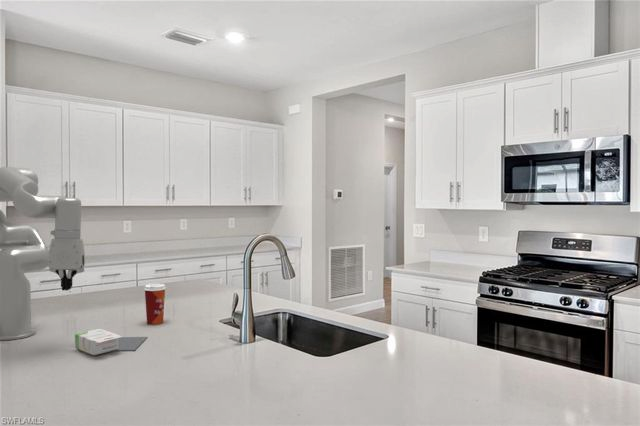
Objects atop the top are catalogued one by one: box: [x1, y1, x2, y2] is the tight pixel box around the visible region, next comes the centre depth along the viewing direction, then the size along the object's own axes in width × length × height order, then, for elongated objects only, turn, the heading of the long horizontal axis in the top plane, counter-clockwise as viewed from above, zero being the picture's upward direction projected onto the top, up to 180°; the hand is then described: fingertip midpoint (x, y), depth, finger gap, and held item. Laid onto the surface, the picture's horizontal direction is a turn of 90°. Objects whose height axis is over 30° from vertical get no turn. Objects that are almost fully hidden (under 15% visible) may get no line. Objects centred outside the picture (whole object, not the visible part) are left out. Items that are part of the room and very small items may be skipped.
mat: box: [112, 336, 148, 352], centre depth 155 cm, size 15×14×1 cm
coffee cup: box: [143, 283, 167, 326], centre depth 183 cm, size 8×8×15 cm
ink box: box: [74, 328, 123, 356], centre depth 149 cm, size 9×5×15 cm
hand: (66, 289), depth 154 cm, fingers closed
